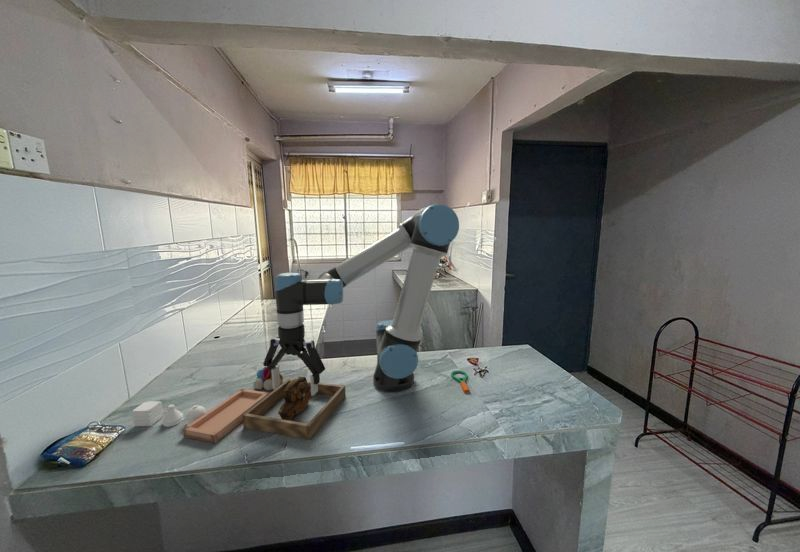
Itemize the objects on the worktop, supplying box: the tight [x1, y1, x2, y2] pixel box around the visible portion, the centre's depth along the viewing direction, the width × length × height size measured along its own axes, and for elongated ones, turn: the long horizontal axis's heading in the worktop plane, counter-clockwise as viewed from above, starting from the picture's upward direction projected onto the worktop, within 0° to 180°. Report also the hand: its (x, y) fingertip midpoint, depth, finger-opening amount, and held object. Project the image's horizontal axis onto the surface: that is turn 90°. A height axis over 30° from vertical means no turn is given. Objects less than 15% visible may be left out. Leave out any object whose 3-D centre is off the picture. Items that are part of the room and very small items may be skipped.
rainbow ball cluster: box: [252, 366, 284, 391], centre depth 114 cm, size 8×10×7 cm
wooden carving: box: [277, 376, 312, 421], centre depth 97 cm, size 16×5×10 cm, turn 173°
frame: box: [242, 378, 347, 441], centre depth 98 cm, size 22×22×4 cm
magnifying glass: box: [450, 370, 471, 394], centre depth 113 cm, size 15×6×2 cm, turn 2°
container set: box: [131, 400, 207, 428], centre depth 94 cm, size 20×5×6 cm, turn 88°
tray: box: [182, 388, 270, 444], centre depth 96 cm, size 11×22×2 cm, turn 164°
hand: (295, 390), depth 97 cm, fingers open, 13 cm apart
